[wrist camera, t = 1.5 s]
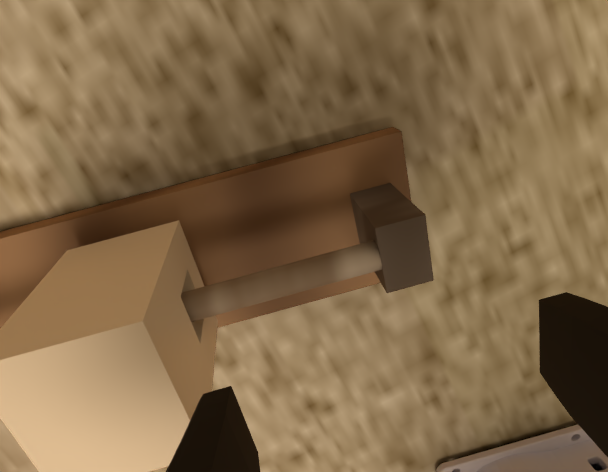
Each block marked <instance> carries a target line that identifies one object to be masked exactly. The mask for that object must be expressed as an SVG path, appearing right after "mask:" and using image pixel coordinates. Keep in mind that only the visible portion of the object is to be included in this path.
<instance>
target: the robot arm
mask: <svg viewBox="0 0 608 472" xmlns="http://www.w3.org/2000/svg"><path fill="white" fill-rule="evenodd" d="M539 333H540V373H541V375H542V376H543V378H544V379H545V381H546V382H547V383H548V385H549V386H550V388H551V389H552V391H553V392H554V394H555V395H556V397H557V398H558V399H559V401H560V402H561V403H562V405H563V406H564V407H565V409H566V410H567V412H568V413H569V414H570V416H571V417H572V418H573V419H574V420H575V421H576V422H577V425H574V426H570V427H567V428H563V429H560V430H556V431H553V432H550V433H546V434H543V435H539V436H536V437H532V438H529V439H525V440H522V441H518V442H515V443H511V444H508V445H504V446H501V447H497V448H494V449H490V450H487V451H483V452H480V453H476V454H473V455H469V456H466V457H462V458H459V459H455V460H452V461H448V462H445V463H442V464H440V465H439V466H438V467H437V469H436V472H608V307H606V306H604V305H601V304H598V303H596V302H593V301H590V300H587V299H585V298H582V297H579V296H576V295H573V294H570V293H567V292H566V293H562V294H559V295H555V296H551V297H548V298H544V299H541V300H539ZM166 472H260V466H259V457H258V451H257V449H256V446H255V444H254V441H253V439H252V436H251V434H250V431H249V429H248V426H247V424H246V421H245V419H244V417H243V414H242V412H241V409H240V407H239V404H238V402H237V399H236V397H235V394H234V392H233V389H232V387H231V386H230V387H226V388H222V389H219V390H215V391H212V392H208V393H205V394H203V395H202V397H201V398H200V400H199V402H198V404H197V407H196V409H195V411H194V413H193V415H192V418H191V420H190V422H189V424H188V426H187V429H186V431H185V433H184V435H183V437H182V439H181V442H180V444H179V446H178V448H177V450H176V452H175V454H174V456H173V458H172V460H171V462H170V464H169V466H168V468H167V470H166Z"/></svg>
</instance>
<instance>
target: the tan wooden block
mask: <svg viewBox="0 0 608 472" xmlns="http://www.w3.org/2000/svg"><path fill="white" fill-rule="evenodd" d="M201 287H204V284H203V281H202V279H201V276H200V273H199V271H198V268H197V266H196V263H195V260H194V258H193V255H192V253H191V250H190V248H189V245H188V242H187V240H186V237H185V235H184V232H183V229H182V227H181V224H180V222H179V220H178V221H174V222H171V223H167V224H163V225H160V226H156V227H152V228H148V229H145V230H141V231H137V232H133V233H130V234H126V235H122V236H119V237H115V238H111V239H107V240H104V241H100V242H96V243H93V244H89V245H85V246H81V247H78V248H74V249H70V250H67V251H66V252H65V253H64V255H63V256H62V257H61V258H60V259H59V260H58V262H57V263H56V264H55V265H54V266H53V268H52V269H51V270H50V271H49V272H48V273H47V275H46V276H45V277H44V278H43V279H42V280H41V282H40V283H39V284H38V285H37V286H36V287H35V289H34V290H33V291H32V292H31V293H30V294H29V296H28V297H27V298H26V299H25V300H24V301H23V303H22V304H21V305H20V306H19V307H18V308H17V310H16V311H15V312H14V313H13V314H12V316H11V317H10V318H9V319H8V320H7V321H6V323H5V324H4V325H3V326H2V327H1V328H0V419H1V420H2V421H3V423H4V424H5V425H6V427H7V428H8V430H9V431H10V432H11V434H12V435H13V436H14V438H15V439H16V441H17V442H18V443H19V445H20V446H21V448H22V449H23V450H24V452H25V453H26V454H27V456H28V457H29V459H30V460H31V461H32V463H33V464H34V466H35V467H36V468H37V470H38V471H39V472H149V471H153V470H156V469H160V468H163V467H167V466H169V464H170V462H171V460H172V458H173V456H174V454H175V452H176V450H177V448H178V446H179V444H180V442H181V439H182V437H183V435H184V433H185V431H186V429H187V426H188V424H189V422H190V420H191V418H192V415H193V413H194V411H195V409H196V407H197V404H198V402H199V400H200V398H201V397H202V395H203V394H205V393H208V392H212V385H213V373H214V361H215V350H216V338H217V326H218V320H217V317H216V315H215V316H211V317H208V318H204V319H201V320H197V321H193V322H191V321H190V318H189V316H188V313H187V311H186V309H185V306H184V304H183V301H182V299H181V293H182V292H186V291H190V290H193V289H197V288H201Z"/></svg>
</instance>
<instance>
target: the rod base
mask: <svg viewBox="0 0 608 472" xmlns="http://www.w3.org/2000/svg"><path fill="white" fill-rule="evenodd" d="M178 220H179V222H180V224H181V227H182V229H183V232H184V235H185V237H186V240H187V242H188V245H189V248H190V250H191V253H192V255H193V258H194V260H195V263H196V266H197V268H198V271H199V273H200V276H201V279H202V281H203V284H204V287H201V288H197V289H193V290H190V291H186V292H182V293H181V299H182V301H183V304H184V306H185V309H186V311H187V313H188V316H189V318H190V321H191V322H193V321H197V320H201V319H204V318H208V317H211V316H215V315H216V317H217V320H218V326H217V328H218V327H222V326H225V325H229V324H232V323H236V322H240V321H243V320H247V319H251V318H254V317H258V316H261V315H265V314H269V313H272V312H276V311H280V310H283V309H287V308H290V307H294V306H298V305H301V304H305V303H309V302H312V301H316V300H319V299H323V298H327V297H330V296H334V295H338V294H341V293H345V292H349V291H352V290H356V289H359V288H363V287H367V286H370V285H374V284H378V283H381V284H382V285H383V287H384V289H385V290H386V292H387V293H389V292H393V291H397V290H400V289H404V288H407V287H411V286H415V285H418V284H422V283H426V282H429V281H433V272H432V264H431V256H430V248H429V241H428V233H427V225H426V217H425V214H424V213H423V212H422V211H421V210H419V209H418V208H417V207H416V206H415V205H414V204H413V203H412V202H411V197H410V190H409V183H408V176H407V168H406V161H405V154H404V147H403V140H402V133H401V131H399V130H397V129H396V128H394V127H391V128H387V129H383V130H379V131H376V132H372V133H368V134H364V135H361V136H357V137H353V138H349V139H346V140H342V141H338V142H334V143H331V144H327V145H323V146H319V147H316V148H312V149H308V150H304V151H301V152H297V153H293V154H289V155H286V156H282V157H278V158H274V159H271V160H267V161H263V162H260V163H256V164H252V165H248V166H245V167H241V168H237V169H233V170H230V171H226V172H222V173H218V174H215V175H211V176H207V177H203V178H200V179H196V180H192V181H188V182H185V183H181V184H177V185H173V186H170V187H166V188H162V189H158V190H155V191H151V192H147V193H143V194H140V195H136V196H132V197H128V198H125V199H121V200H117V201H113V202H110V203H106V204H102V205H98V206H95V207H91V208H87V209H83V210H80V211H76V212H72V213H68V214H65V215H61V216H57V217H53V218H50V219H46V220H42V221H38V222H35V223H31V224H27V225H23V226H20V227H16V228H12V229H8V230H5V231H1V232H0V328H1V327H2V326H3V325H4V324H5V323H6V321H7V320H8V319H9V318H10V317H11V316H12V314H13V313H14V312H15V311H16V310H17V308H18V307H19V306H20V305H21V304H22V303H23V301H24V300H25V299H26V298H27V297H28V296H29V294H30V293H31V292H32V291H33V290H34V289H35V287H36V286H37V285H38V284H39V283H40V282H41V280H42V279H43V278H44V277H45V276H46V275H47V273H48V272H49V271H50V270H51V269H52V268H53V266H54V265H55V264H56V263H57V262H58V260H59V259H60V258H61V257H62V256H63V255H64V253H65V252H66V251H67V250H70V249H74V248H78V247H81V246H85V245H89V244H93V243H96V242H100V241H104V240H107V239H111V238H115V237H119V236H122V235H126V234H130V233H133V232H137V231H141V230H145V229H148V228H152V227H156V226H160V225H163V224H167V223H171V222H174V221H178Z"/></svg>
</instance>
